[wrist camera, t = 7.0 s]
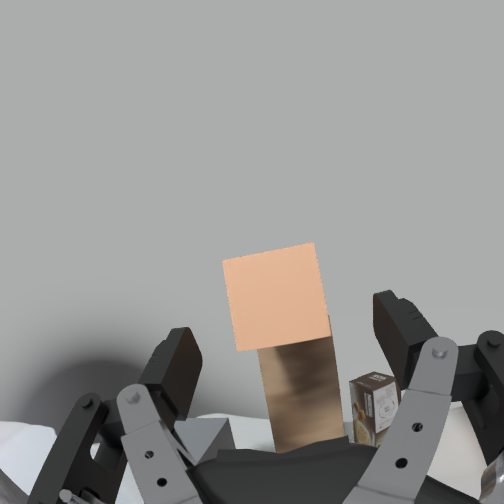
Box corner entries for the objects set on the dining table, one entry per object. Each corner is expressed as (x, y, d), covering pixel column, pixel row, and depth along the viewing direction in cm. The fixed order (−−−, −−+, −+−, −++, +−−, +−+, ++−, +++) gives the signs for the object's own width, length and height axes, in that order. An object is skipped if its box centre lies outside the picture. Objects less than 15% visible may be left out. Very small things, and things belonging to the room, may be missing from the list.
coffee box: (403, 448, 34) (402, 377, 37) (376, 463, 33) (373, 391, 36) (378, 434, 43) (374, 370, 46) (352, 446, 42) (347, 380, 45)
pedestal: (254, 516, 25) (228, 417, 29) (238, 567, 14) (194, 466, 18) (211, 514, 26) (178, 417, 30) (186, 559, 15) (131, 457, 19)
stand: (339, 493, 28) (317, 308, 34) (346, 551, 14) (328, 315, 20) (301, 499, 28) (271, 317, 35) (297, 557, 15) (253, 329, 21)
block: (309, 309, 36) (303, 280, 37) (331, 335, 11) (313, 242, 11) (280, 314, 36) (275, 286, 37) (237, 351, 11) (222, 260, 12)
